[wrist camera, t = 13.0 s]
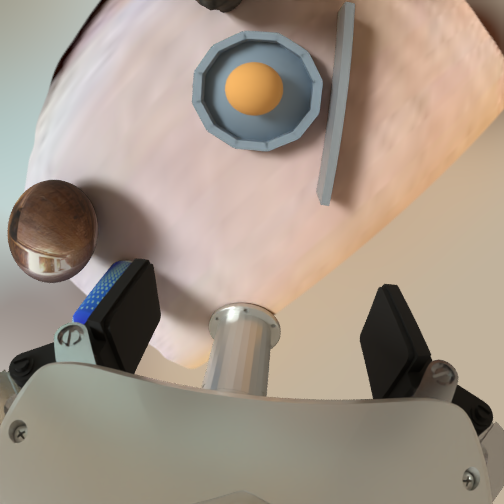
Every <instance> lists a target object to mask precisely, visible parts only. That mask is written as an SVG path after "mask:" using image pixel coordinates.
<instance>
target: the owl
mask: <svg viewBox="0 0 504 504" xmlns="http://www.w3.org/2000/svg"><path fill="white" fill-rule="evenodd" d="M196 1H197V2H198V3H199V4H200V5H202V6H204V7H206V8H208V9H209V10H220V11H221V12H223V13H224V12H228V11H231V10H232V9H234V8H235V7H236V6H238V5H239V4H240V3H241V1H242V0H196Z"/></svg>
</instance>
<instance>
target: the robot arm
mask: <svg viewBox="0 0 504 504" xmlns="http://www.w3.org/2000/svg"><path fill="white" fill-rule="evenodd" d="M160 318H161V312H160V306H159V300H158V294H157V287H156V280H155V273H154V267H153V264H150V262H149V260H145V259H137V258H136V259H134V260H133V262H132V263H131V264H130V265H129V266H128V268H127V269H126V270H125V271H124V272H123V274H122V275H121V276H120V277H119V279H118V280H117V281H116V282H115V284H114V285H113V286H112V287H111V289H110V290H109V291H108V292H107V294H106V295H105V296H104V297H103V299H102V300H101V301H100V303H99V304H98V305H97V307H96V308H95V309H94V311H93V312H92V313H91V315H90V316H89V317H88V319H87V321H86V323H85V324H84V325H83V324H81V323H79V322H71V323H67V324H65V325H63V326H61V327H60V328H59V329H58V330H57V331H56V333H55V335H54V342H53V343H50V344H47V345H45V346H42V347H39V348H36V349H33V350H30V351H27V352H24V353H21V354H19V355H17V356H16V357H15V358H14V359H13V360H12V361H11V364H10V366H9V371H8V372H6V371H5V370H4V371H2V372H0V504H493V503H492V502H493V501H494V499H495V498H496V497H497V495H498V494H499V492H500V491H501V489H502V488H503V486H504V430H503V429H502V428H501V426H500V425H499V424H498V423H497V422H495V423H494V424H493V423H492V421H493V414H492V411H491V408H490V407H489V406H488V405H487V404H486V403H485V402H484V401H482V400H480V399H479V398H477V397H476V396H474V395H473V394H471V393H470V392H468V391H466V390H465V389H463V388H462V387H460V386H459V385H457V383H458V374H457V372H456V370H455V368H454V367H453V366H452V365H451V364H449V363H448V362H446V361H443V360H434V361H432V359H431V353H430V351H429V349H428V346H427V344H426V342H425V340H424V338H423V336H422V334H421V331H420V329H419V327H418V325H417V323H416V321H415V319H414V317H413V315H412V313H411V311H410V309H409V307H408V305H407V303H406V301H405V299H404V297H403V295H402V293H401V291H400V289H399V287H398V286H397V285H391V284H384V285H383V286H382V287H379V288H378V291H377V293H376V296H375V299H374V301H373V304H372V307H371V309H370V312H369V315H368V317H367V320H366V322H365V325H364V327H363V330H362V332H361V334H360V343H361V348H362V352H363V355H364V360H365V364H366V368H367V373H368V377H369V382H370V386H371V391H372V396H373V399H361V400H314V399H291V398H276V397H266V395H267V384H268V372H269V360H270V349H272V348H273V347H274V346H275V345H276V344H277V342H278V341H279V339H280V325H279V322H278V321H277V319H276V317H275V316H274V315H273V314H272V313H270V312H269V311H267V310H266V309H264V308H262V307H259V306H256V305H253V304H247V303H234V304H229V305H225V306H223V307H221V308H219V309H218V310H217V311H215V312H214V314H213V315H212V317H211V319H210V322H209V332H210V335H211V336H212V338H213V339H214V342H213V346H212V349H211V353H210V357H209V361H208V365H207V369H206V373H205V376H204V380H203V385H202V388H197V387H191V386H186V385H180V384H175V383H170V382H166V381H161V380H157V379H153V378H148V377H144V376H139V375H135V374H134V373H135V371H136V369H137V366H138V364H139V362H140V360H141V358H142V356H143V354H144V352H145V349H146V348H147V346H148V343H149V341H150V339H151V337H152V335H153V333H154V331H155V329H156V327H157V325H158V323H159V321H160Z"/></svg>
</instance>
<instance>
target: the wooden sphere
mask: <svg viewBox="0 0 504 504" xmlns="http://www.w3.org/2000/svg"><path fill="white" fill-rule="evenodd" d="M97 236H98V224H97V217H96V214H95V211H94V208H93V206H92V204H91V202H90V200H89V199H88V197H87V196H86V195H85V194H84V193H83V192H82V191H81V190H80V189H79V188H77V187H76V186H74V185H73V184H71V183H68V182H65V181H61V180H47V181H43V182H40V183H37V184H35V185H33V186H32V187H30V188H29V189H28V190H26V191H25V192H24V193H23V194H22V195H21V196H20V198H19V199H18V200H17V202H16V204H15V205H14V207H13V209H12V212H11V215H10V218H9V223H8V243H9V247H10V251H11V253H12V256H13V258H14V259H15V261H16V263H17V264H18V266H19V267H20V268H21V269H22V270H23V271H24V272H25V273H26V274H27V275H29V276H30V277H32V278H34V279H36V280H38V281H42V282H47V283H56V282H61V281H65V280H67V279H70V278H72V277H73V276H75V275H76V274H78V273H79V272H80V271H81V270H82V269H83V268H84V267H85V266H86V264H87V263H88V262H89V260H90V258H91V256H92V254H93V252H94V249H95V246H96V242H97Z"/></svg>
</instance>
